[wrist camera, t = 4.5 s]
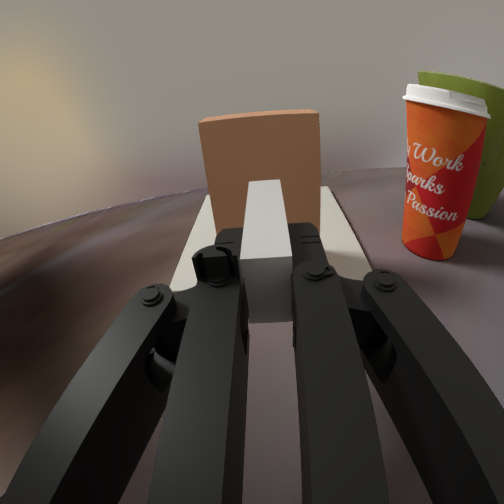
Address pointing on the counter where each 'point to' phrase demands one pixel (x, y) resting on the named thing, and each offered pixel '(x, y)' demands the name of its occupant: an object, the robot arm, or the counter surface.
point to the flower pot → (496, 136)
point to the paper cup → (440, 167)
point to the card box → (262, 162)
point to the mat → (331, 233)
